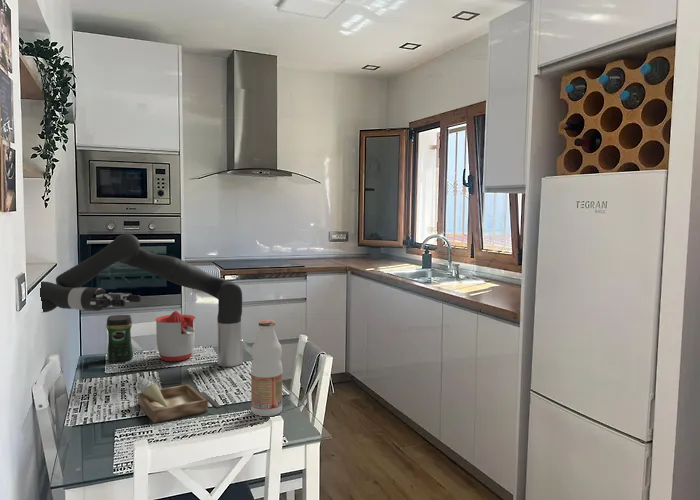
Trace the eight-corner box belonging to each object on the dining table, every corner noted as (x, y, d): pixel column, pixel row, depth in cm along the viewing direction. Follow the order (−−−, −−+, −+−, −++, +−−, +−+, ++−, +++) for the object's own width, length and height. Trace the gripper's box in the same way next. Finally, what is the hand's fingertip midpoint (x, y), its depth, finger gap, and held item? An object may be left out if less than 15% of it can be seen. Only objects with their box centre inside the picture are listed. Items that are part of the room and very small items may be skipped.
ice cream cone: (174, 404, 163) (145, 374, 169) (172, 397, 159) (142, 366, 165) (161, 415, 160) (131, 384, 166) (158, 408, 157) (128, 377, 162)
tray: (202, 391, 176) (202, 381, 176) (222, 408, 161) (222, 397, 161) (138, 404, 164) (138, 393, 164) (153, 423, 149) (153, 411, 149)
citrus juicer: (175, 366, 204) (174, 316, 203) (148, 359, 214) (147, 311, 213) (206, 357, 218) (206, 310, 216) (179, 351, 227) (178, 306, 226)
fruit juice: (256, 419, 153) (255, 325, 151) (247, 408, 161) (247, 319, 159) (286, 414, 157) (286, 323, 155) (276, 404, 165) (276, 317, 164)
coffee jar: (133, 356, 218) (133, 312, 217) (131, 361, 211) (131, 316, 210) (108, 358, 215) (107, 313, 214) (105, 363, 208) (104, 317, 207)
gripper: (72, 290, 163) (119, 292, 160) (101, 284, 177) (144, 286, 174) (72, 314, 164) (119, 316, 161) (101, 306, 178) (145, 308, 175)
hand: (132, 300), depth 168 cm, fingers open, 8 cm apart
